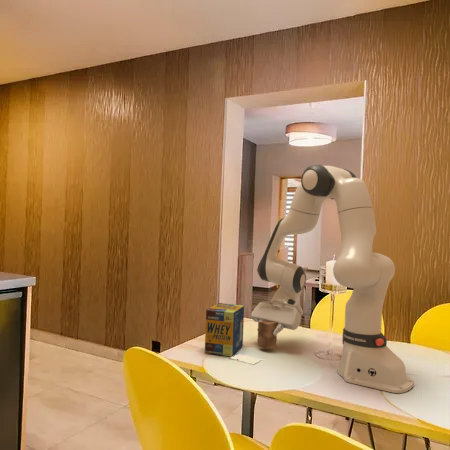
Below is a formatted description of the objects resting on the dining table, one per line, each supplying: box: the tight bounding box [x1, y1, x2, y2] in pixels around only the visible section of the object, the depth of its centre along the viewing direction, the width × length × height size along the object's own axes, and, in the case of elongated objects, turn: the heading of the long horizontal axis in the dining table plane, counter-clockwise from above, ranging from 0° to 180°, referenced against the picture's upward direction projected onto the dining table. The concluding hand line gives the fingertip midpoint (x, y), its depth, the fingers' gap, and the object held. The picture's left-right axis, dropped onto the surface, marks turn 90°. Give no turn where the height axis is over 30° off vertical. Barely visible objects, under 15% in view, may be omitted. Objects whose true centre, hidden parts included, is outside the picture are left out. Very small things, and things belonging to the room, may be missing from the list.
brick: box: [257, 320, 278, 350], centre depth 153 cm, size 5×5×9 cm
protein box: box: [204, 302, 245, 357], centre depth 151 cm, size 10×15×16 cm
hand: (266, 333), depth 153 cm, fingers closed on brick, 5 cm apart
